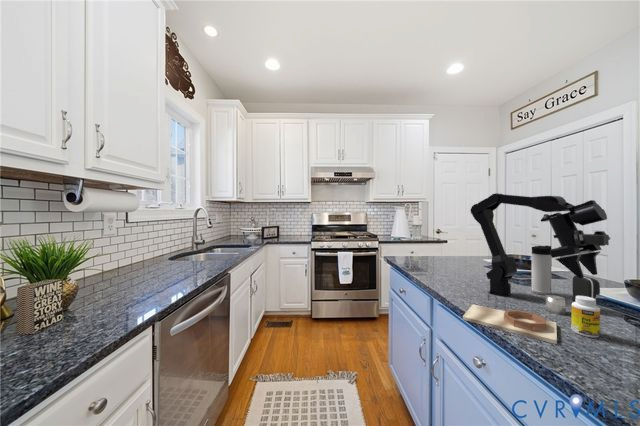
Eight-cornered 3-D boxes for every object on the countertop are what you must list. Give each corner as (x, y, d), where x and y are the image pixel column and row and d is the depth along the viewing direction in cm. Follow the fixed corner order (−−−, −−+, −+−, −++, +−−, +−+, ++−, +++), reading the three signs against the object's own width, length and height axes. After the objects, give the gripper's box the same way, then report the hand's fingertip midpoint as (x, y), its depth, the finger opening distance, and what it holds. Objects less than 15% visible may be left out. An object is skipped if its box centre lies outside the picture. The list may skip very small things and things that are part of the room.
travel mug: (556, 295, 101) (556, 246, 101) (540, 295, 101) (540, 246, 101) (543, 290, 107) (543, 244, 107) (527, 290, 108) (527, 244, 107)
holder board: (462, 319, 80) (462, 310, 80) (472, 306, 90) (472, 298, 90) (556, 344, 65) (556, 332, 65) (556, 325, 75) (556, 315, 75)
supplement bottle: (579, 337, 69) (579, 300, 69) (566, 327, 74) (566, 293, 74) (605, 340, 67) (606, 302, 67) (590, 330, 72) (590, 295, 72)
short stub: (545, 312, 85) (545, 297, 85) (545, 307, 89) (545, 294, 89) (565, 316, 82) (566, 301, 82) (565, 311, 86) (565, 297, 86)
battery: (602, 313, 84) (602, 279, 84) (589, 313, 84) (589, 279, 84) (583, 305, 91) (583, 274, 90) (571, 305, 91) (571, 274, 91)
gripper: (582, 223, 74) (610, 276, 69) (609, 221, 82) (636, 269, 77) (539, 233, 84) (561, 281, 79) (568, 231, 91) (589, 274, 86)
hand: (588, 276), depth 80 cm, fingers open, 9 cm apart
